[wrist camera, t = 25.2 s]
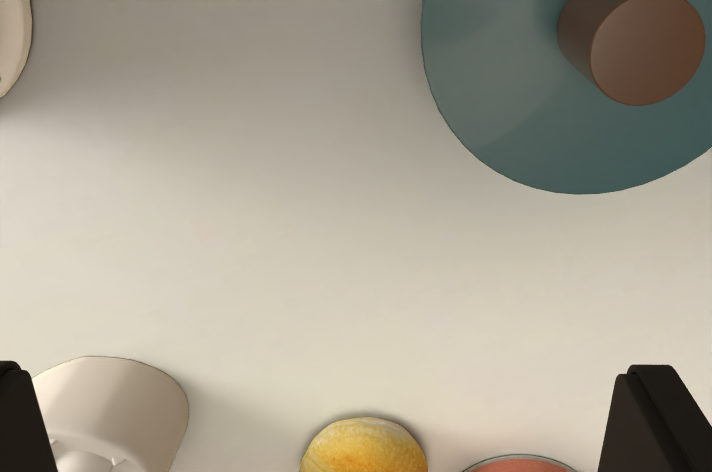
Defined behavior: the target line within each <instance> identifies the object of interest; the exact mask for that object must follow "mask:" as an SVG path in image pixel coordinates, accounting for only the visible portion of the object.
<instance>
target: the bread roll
mask: <svg viewBox="0 0 712 472" xmlns="http://www.w3.org/2000/svg"><path fill="white" fill-rule="evenodd" d="M299 472H428V466H427V462H426V459H425V456H424V454H423V452H422V450H421V448H420V446H419V445H418V444H417V442H416V441H415V440H414V438H413V437H412V436H411V435H410V434H409V433H408V432H407V430H406V429H405V428H403V427H402V426H400V425H398V424H396V423H394V422H391V421H388V420H384V419H379V418H374V417H363V418H353V419H347V420H341V421H337V422H335V423H332V424H331V425H329V426H327V427H326V428H325V429H323V430H322V431H321V432H320V433H319V434H318V435H317V436H316V437H315V438H314V439H313V440H312V442H311V443H310V445H309V447H308V449H307V451H306V453H305V454H304V456H303V457H302V460H301V463H300V470H299Z"/></svg>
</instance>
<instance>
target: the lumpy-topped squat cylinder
mask: <svg viewBox="0 0 712 472" xmlns="http://www.w3.org/2000/svg"><path fill="white" fill-rule="evenodd" d="M32 382H33V386H34V389H35V393H36V396H37V400H38V403H39V407H40V410H41V413H42V417H43V420H44V424H45V427H46V431H47V434H48V438H49V441H50V445H51V448H52V452H53V455H54V459H55V462H56V466H57V469H58V472H168V471H169V469H170V467H171V464H172V462H173V459H174V457H175V455H176V452H177V450H178V448H179V445H180V443H181V440H182V438H183V436H184V433H185V431H186V428H187V425H188V418H189V406H188V401H187V397H186V395H185V393H184V391H183V390H182V388H181V387H180V386H179V385H178V383H177V382H176V381H175V380H173V379H172V378H171V377H170V376H168V375H167V374H165V373H163V372H161V371H160V370H158V369H155V368H153V367H151V366H148V365H145V364H143V363H140V362H137V361H133V360H128V359H121V358H111V357H81V358H77V359H74V360H71V361H68V362H65V363H62V364H60V365H57V366H55V367H53V368H51V369H48V370H46V371H44V372H42V373H40V374H39V375H37V376H35V377H34V378H32Z"/></svg>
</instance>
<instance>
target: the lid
mask: <svg viewBox="0 0 712 472" xmlns="http://www.w3.org/2000/svg"><path fill="white" fill-rule="evenodd" d="M421 48H422V55H423V62H424V69H425V73H426V76H427V80H428V83H429V87H430V90H431V93H432V95H433V98H434V100H435V102H436V104H437V107H438V109H439V111H440V113H441V115H442V116H443V118H444V120H445V121H446V123H447V124H448V126H449V128H450V129H451V131H452V132H453V133H454V134H455V136H456V137H457V138H458V139H459V140H460V142H461V143H462V144H463V145H464V146H465V147H466V148H467V149H468V150H469V151H470V152H471V153H472V154H473V155H474V156H476V157H477V158H478V159H479V160H480V161H481V162H483V163H484V164H486V165H487V166H489V167H490V168H492V169H493V170H494V171H496V172H498V173H500V174H502V175H504V176H506V177H507V178H509V179H511V180H513V181H516V182H518V183H521V184H524V185H527V186H530V187H533V188H536V189H541V190H545V191H550V192H555V193H566V194H600V193H607V192H614V191H620V190H624V189H628V188H632V187H635V186H639V185H643V184H645V183H648V182H650V181H653V180H656V179H658V178H661V177H663V176H665V175H667V174H669V173H671V172H673V171H675V170H677V169H679V168H681V167H683V166H685V165H686V164H688V163H689V162H691V161H692V160H694V159H696V158H697V157H699V156H700V155H702V154H703V153H705V152H706V151H707V150H708V149H710V148H711V147H712V0H423V6H422V15H421Z"/></svg>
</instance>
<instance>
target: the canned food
mask: <svg viewBox="0 0 712 472" xmlns="http://www.w3.org/2000/svg"><path fill="white" fill-rule="evenodd" d="M464 472H576V471H574V470H573V469H571V468H570V467H568V466H566V465H564V464H562V463H560V462H557V461H554V460H551V459H548V458H544V457H539V456H532V455H509V456H501V457H496V458H492V459H489V460H486V461H483V462H480V463H478V464H476V465H474V466H472V467H470V468H468V469H467V470H465V471H464Z"/></svg>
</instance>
